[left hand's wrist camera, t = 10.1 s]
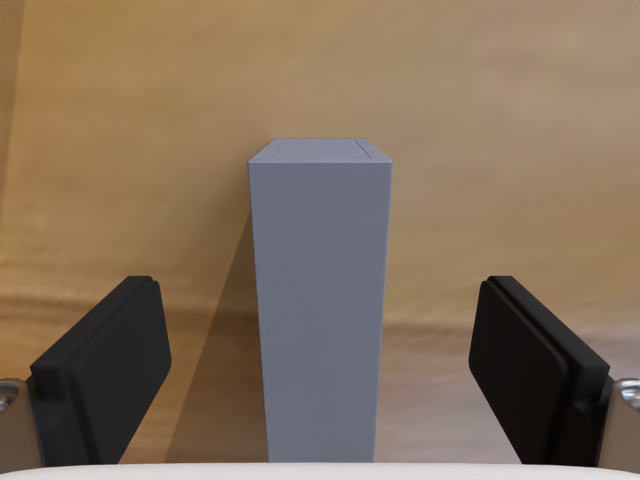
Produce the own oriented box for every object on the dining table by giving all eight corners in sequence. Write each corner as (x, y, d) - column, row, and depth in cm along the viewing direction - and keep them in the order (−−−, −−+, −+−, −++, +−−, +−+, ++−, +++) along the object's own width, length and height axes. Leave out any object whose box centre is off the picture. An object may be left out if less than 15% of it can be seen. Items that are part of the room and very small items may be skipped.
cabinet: (356, 368, 33) (372, 483, 23) (284, 369, 33) (269, 483, 23) (365, 138, 26) (393, 161, 16) (274, 138, 26) (247, 161, 16)
